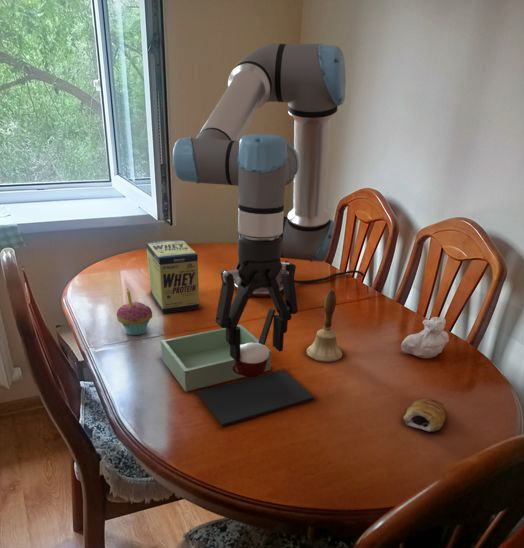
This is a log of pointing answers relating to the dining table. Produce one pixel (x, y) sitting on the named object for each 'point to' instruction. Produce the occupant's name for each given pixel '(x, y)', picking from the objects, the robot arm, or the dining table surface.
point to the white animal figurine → (427, 339)
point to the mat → (253, 397)
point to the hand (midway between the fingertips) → (256, 352)
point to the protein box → (173, 275)
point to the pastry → (426, 415)
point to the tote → (204, 358)
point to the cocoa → (255, 353)
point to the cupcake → (134, 316)
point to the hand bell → (326, 335)
